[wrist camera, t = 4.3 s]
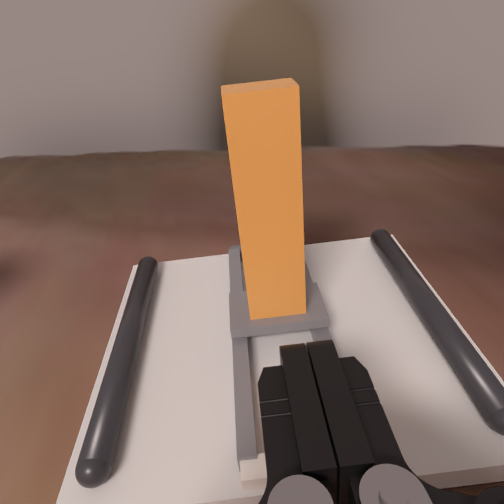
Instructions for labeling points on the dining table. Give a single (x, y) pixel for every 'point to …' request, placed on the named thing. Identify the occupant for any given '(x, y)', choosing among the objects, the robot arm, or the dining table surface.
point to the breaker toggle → (269, 210)
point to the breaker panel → (266, 355)
